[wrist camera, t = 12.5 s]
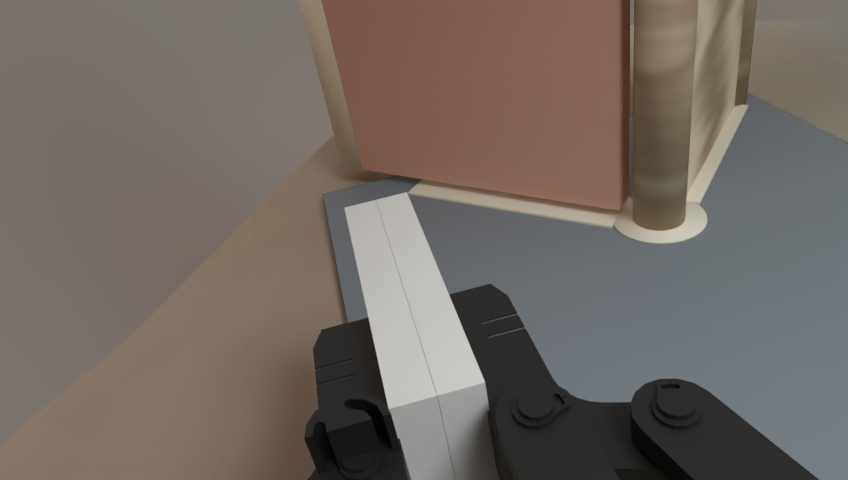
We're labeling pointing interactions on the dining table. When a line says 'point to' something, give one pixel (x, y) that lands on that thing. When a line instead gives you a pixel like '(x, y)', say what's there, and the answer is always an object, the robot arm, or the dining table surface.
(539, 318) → the card
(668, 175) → the fixed fence section
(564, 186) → the pink wooden flat board
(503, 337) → the robot arm
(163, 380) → the dining table surface
